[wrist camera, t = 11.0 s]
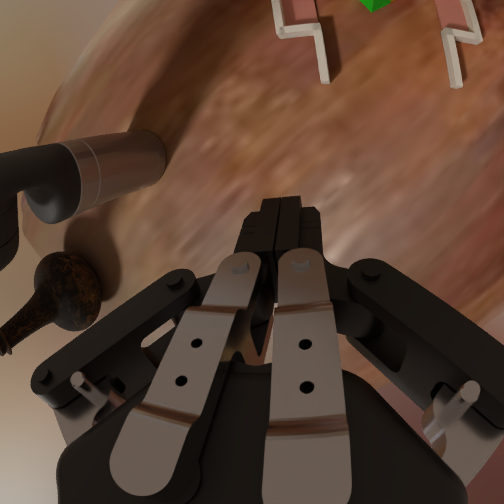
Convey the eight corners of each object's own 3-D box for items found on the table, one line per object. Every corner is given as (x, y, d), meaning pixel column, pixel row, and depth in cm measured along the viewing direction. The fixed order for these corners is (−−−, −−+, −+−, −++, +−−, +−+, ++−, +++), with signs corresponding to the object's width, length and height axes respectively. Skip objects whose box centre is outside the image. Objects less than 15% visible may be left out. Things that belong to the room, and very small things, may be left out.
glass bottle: (53, 256, 62) (-33, 309, 38) (85, 230, 54) (-26, 293, 30) (87, 317, 66) (11, 382, 42) (126, 305, 58) (33, 388, 34)
